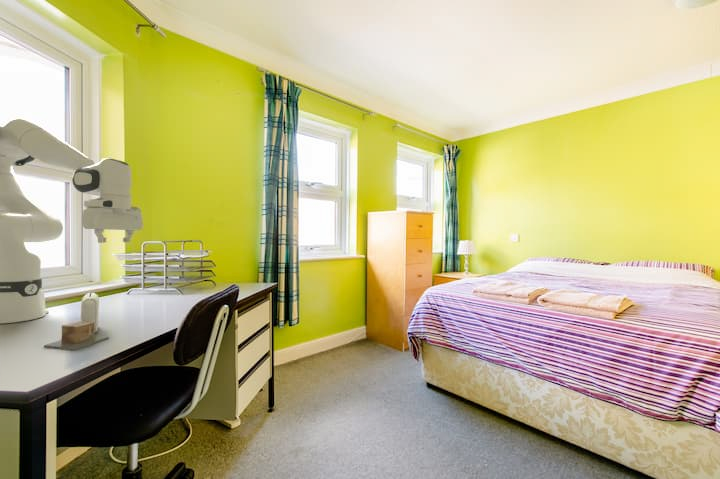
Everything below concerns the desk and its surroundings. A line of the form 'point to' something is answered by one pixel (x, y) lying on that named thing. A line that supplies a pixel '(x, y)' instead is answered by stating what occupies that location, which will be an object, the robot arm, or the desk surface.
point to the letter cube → (77, 332)
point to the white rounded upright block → (90, 309)
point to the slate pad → (75, 346)
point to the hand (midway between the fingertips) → (114, 242)
